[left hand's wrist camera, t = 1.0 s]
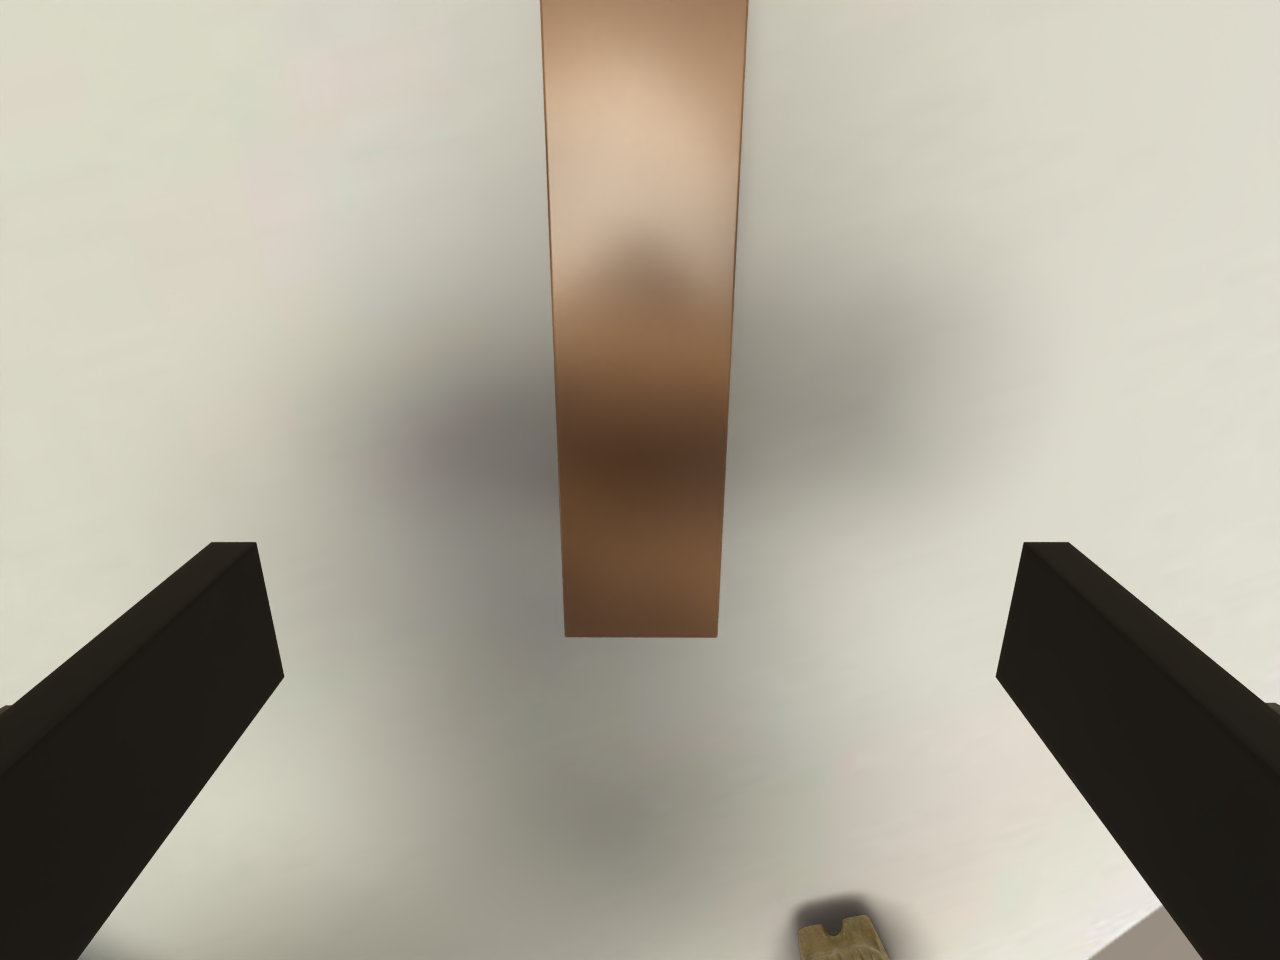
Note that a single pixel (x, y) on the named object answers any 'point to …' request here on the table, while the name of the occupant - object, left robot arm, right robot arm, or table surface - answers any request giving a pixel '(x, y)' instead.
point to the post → (642, 302)
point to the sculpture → (842, 941)
